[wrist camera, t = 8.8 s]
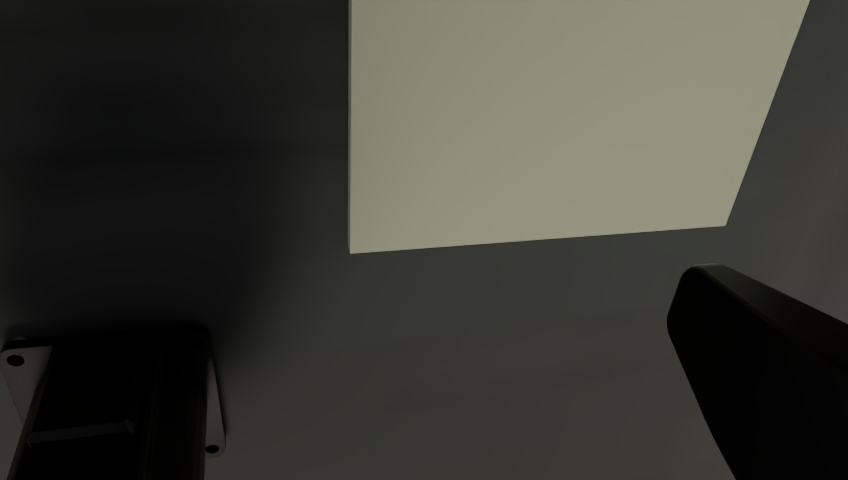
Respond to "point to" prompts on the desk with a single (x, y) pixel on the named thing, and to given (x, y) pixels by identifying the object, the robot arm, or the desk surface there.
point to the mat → (554, 115)
